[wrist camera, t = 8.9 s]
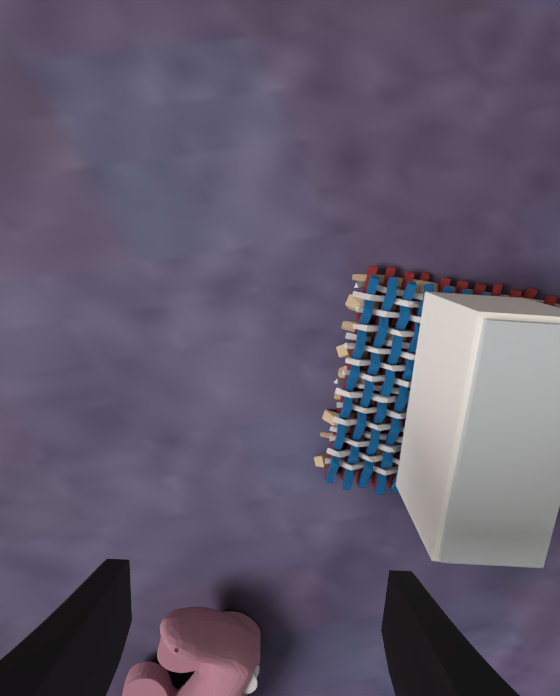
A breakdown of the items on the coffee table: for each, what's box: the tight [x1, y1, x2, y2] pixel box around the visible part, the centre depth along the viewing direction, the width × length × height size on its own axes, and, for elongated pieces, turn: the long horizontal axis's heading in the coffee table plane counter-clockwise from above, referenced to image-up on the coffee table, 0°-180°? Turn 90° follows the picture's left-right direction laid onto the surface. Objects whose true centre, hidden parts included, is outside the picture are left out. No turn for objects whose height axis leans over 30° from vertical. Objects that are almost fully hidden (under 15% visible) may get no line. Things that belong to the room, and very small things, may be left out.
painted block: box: [396, 292, 560, 568], centre depth 16 cm, size 4×9×5 cm, turn 176°
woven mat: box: [314, 266, 560, 495], centre depth 20 cm, size 10×11×2 cm
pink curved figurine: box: [122, 607, 261, 696], centre depth 22 cm, size 10×5×7 cm
